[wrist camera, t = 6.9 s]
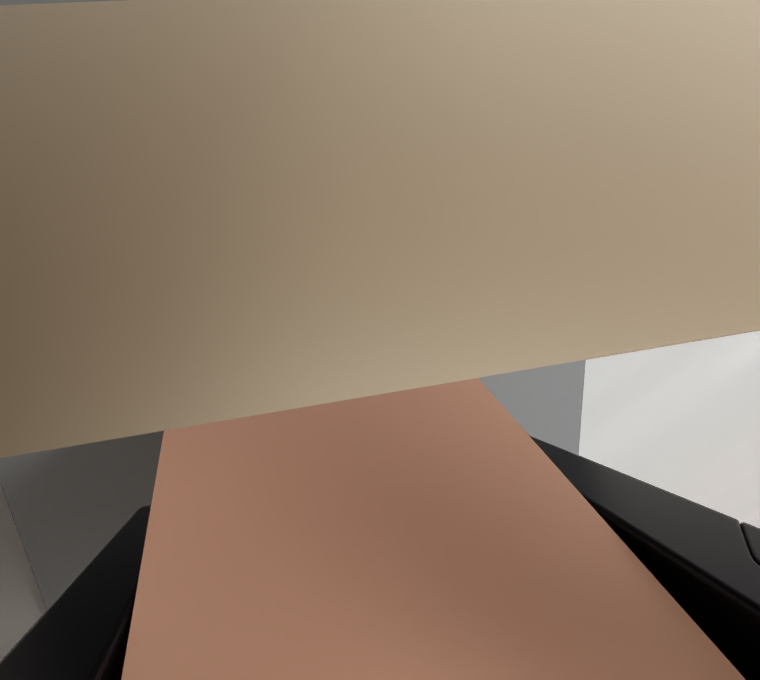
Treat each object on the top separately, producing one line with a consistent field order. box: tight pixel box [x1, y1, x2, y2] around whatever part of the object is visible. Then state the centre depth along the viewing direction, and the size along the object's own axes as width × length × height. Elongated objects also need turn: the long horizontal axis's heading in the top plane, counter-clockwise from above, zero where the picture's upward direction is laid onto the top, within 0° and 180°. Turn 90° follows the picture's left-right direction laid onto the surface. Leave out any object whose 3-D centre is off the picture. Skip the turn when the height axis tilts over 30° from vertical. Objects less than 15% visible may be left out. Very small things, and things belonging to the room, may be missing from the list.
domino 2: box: [121, 378, 746, 680], centre depth 8 cm, size 2×5×8 cm, turn 94°
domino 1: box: [0, 0, 760, 458], centre depth 7 cm, size 2×5×8 cm, turn 94°
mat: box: [0, 0, 585, 610], centre depth 13 cm, size 12×32×1 cm, turn 4°
